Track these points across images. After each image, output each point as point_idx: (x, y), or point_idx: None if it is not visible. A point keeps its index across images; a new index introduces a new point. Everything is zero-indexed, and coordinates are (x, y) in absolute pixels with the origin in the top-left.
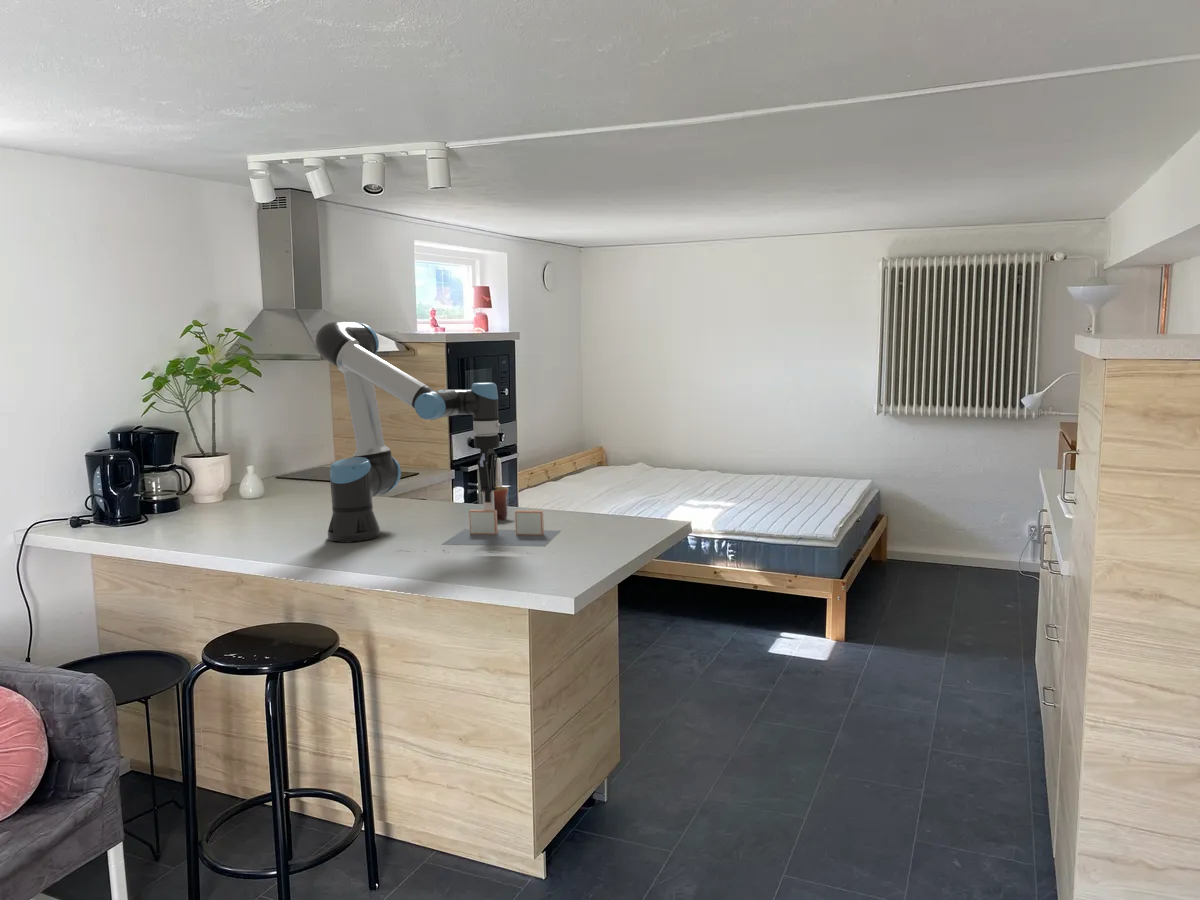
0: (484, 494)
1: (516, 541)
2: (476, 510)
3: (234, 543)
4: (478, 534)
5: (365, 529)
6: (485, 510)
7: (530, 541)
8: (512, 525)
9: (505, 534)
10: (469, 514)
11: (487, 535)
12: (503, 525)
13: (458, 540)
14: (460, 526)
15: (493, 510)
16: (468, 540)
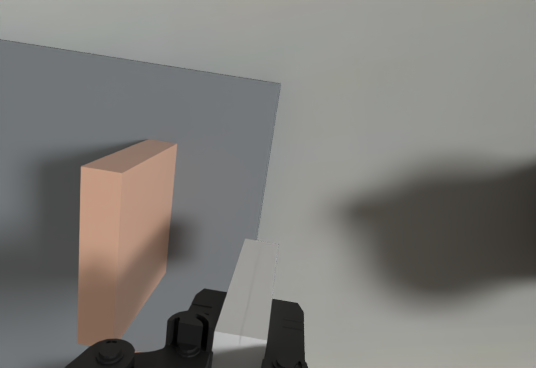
0: (219, 318)
1: (12, 359)
2: (94, 219)
3: None
4: None
5: None
6: (96, 280)
7: None
8: (438, 305)
9: (142, 307)
10: (95, 162)
11: None
12: (448, 262)
13: (4, 102)
14: (473, 21)
15: (97, 331)
16: (9, 154)
